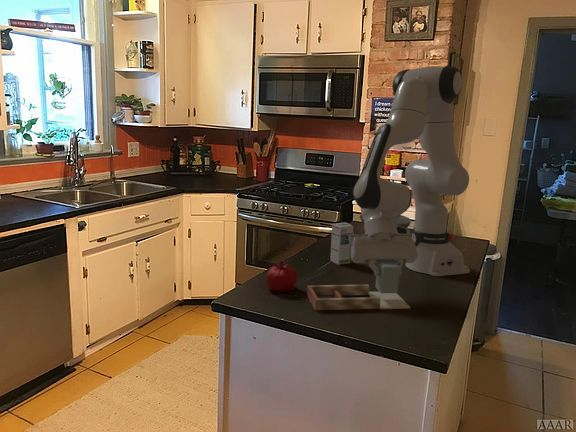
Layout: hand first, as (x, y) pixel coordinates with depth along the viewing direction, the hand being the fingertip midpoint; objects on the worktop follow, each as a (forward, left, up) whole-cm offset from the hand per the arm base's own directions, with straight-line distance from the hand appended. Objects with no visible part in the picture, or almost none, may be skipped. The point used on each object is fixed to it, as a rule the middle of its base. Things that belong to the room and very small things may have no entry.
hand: (388, 274), depth 142 cm
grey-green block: (0, 0, -5) cm, 5 cm away
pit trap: (+18, -1, -8) cm, 20 cm away
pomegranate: (+30, -12, -9) cm, 33 cm away
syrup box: (+4, -38, -8) cm, 39 cm away
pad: (-1, -1, -8) cm, 8 cm away
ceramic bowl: (-24, -69, -8) cm, 73 cm away
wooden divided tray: (+13, -1, -8) cm, 15 cm away
